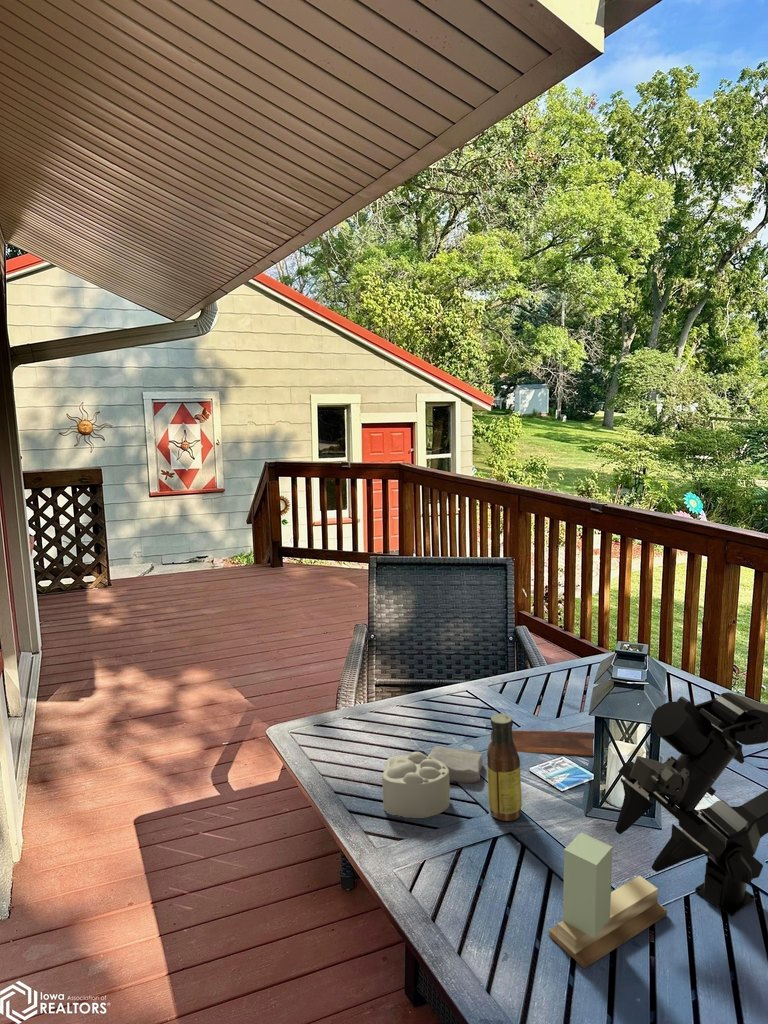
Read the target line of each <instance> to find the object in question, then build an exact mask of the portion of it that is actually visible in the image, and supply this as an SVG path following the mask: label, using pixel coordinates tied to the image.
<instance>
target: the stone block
mask: <svg viewBox="0 0 768 1024" xmlns="http://www.w3.org/2000/svg"><path fill="white" fill-rule="evenodd" d="M426 757H431V758H433V759H436V760H438V761H440V762H442V763H443V764H445V765H446V766H447V768H448V769H449V782H459V783H464V784H476V783H479V782H480V781H481V775H480V772H481V771H482V768H483V765H484V764H483V756H482V753H481V752H480V751H477V750H476V749H475V750H474V749H468V748H459V749H456V748H449V747H446V746H439V745H434V746H433V748H432V749H431V750H430V753H429V754H428V755H427V756H426Z"/></svg>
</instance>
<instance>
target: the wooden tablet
mask: <svg viewBox="0 0 768 1024" xmlns="http://www.w3.org/2000/svg"><path fill="white" fill-rule="evenodd" d="M594 733H595V732H586V731H585V732H583V731H582V732H581V731H561V730H558V731H557V730H512V737H513V741H514V744H515V747H516V750H517V753H528V754H548V755H549V754H551V755H553V754H554V755H556V754H557V755H564V756H566V755H567V756H579V757H593V739H594ZM490 740H491V741H492V731H491V732H490ZM593 758H594V757H593Z"/></svg>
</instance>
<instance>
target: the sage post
mask: <svg viewBox="0 0 768 1024" xmlns="http://www.w3.org/2000/svg"><path fill="white" fill-rule="evenodd" d="M612 868H613V846H611V845H609V844H607V843H605V842H602V841H601V840H598V839H597V838H594V837H591V836H590V835H587V834H586V833H582V832H579V833H578V835H577V836H576V837H575V838H574V839H573V840H572V841H571V842H570V843H568V845H567V846H566V847H565V848H564V850H563V895H562V896H563V898H562V900H563V901H562V902H563V905H562V921H564V922H566V923H568V924H569V925H571V926H573V927H575V928H577V929H578V930H580V931H582V932H584V933H586V934H587V935H589V936H591V937H593V938H595V937H596V936H597V935H598V933H599V932H600V931H601V929H602V928H603V927H604V925H605V924H606V923H607V921H608V920H609V919H610V904H611V892H612V870H613V869H612Z"/></svg>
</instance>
